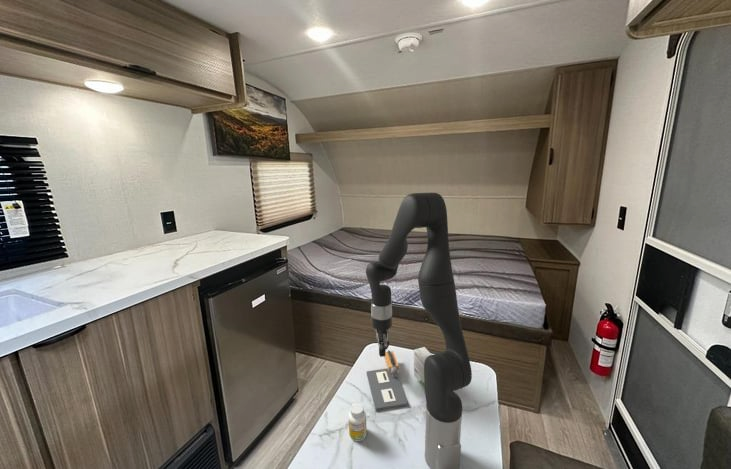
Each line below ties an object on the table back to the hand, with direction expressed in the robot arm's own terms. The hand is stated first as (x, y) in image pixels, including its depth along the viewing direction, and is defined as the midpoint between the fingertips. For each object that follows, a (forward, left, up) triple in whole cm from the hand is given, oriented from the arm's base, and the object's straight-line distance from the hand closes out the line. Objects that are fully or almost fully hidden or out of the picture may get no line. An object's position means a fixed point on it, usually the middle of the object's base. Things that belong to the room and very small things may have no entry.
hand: (382, 355), depth 107 cm
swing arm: (+4, -5, -8) cm, 10 cm away
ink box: (-4, -15, -11) cm, 19 cm away
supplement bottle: (-20, +13, -11) cm, 26 cm away
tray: (-4, 0, -11) cm, 12 cm away
